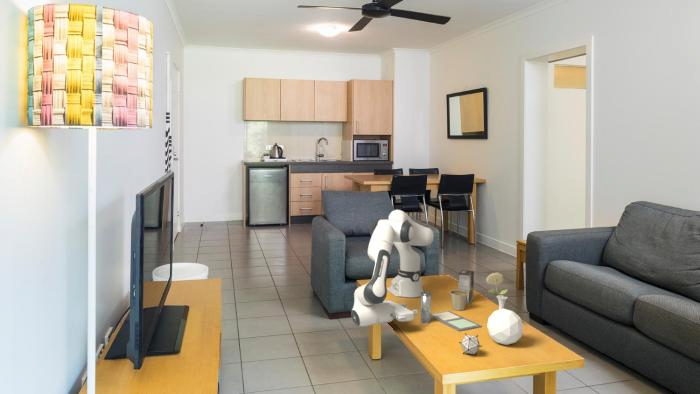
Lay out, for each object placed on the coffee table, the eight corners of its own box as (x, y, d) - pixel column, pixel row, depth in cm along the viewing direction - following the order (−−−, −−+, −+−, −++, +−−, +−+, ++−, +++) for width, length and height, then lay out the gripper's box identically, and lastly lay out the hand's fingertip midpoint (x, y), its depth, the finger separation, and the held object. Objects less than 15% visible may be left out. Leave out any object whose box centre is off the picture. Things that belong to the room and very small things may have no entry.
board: (427, 315, 251) (428, 314, 251) (449, 312, 257) (449, 310, 257) (459, 331, 230) (459, 329, 230) (481, 327, 236) (481, 325, 236)
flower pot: (468, 312, 257) (468, 295, 256) (449, 311, 258) (449, 294, 258) (467, 306, 266) (468, 290, 265) (449, 305, 268) (449, 289, 267)
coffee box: (461, 298, 281) (462, 269, 280) (473, 299, 278) (474, 270, 277) (457, 302, 273) (458, 272, 271) (469, 304, 270) (470, 274, 268)
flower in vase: (514, 323, 241) (516, 271, 239) (513, 331, 230) (515, 277, 228) (485, 320, 245) (487, 268, 243) (483, 327, 235) (485, 274, 232)
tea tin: (418, 321, 243) (418, 292, 242) (426, 319, 245) (427, 291, 244) (424, 324, 239) (424, 294, 237) (432, 322, 241) (433, 293, 240)
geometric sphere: (494, 354, 217) (474, 323, 221) (518, 336, 224) (498, 306, 227) (512, 349, 205) (490, 316, 208) (537, 330, 211) (515, 298, 215)
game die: (465, 361, 206) (454, 338, 210) (484, 354, 206) (473, 330, 210) (467, 359, 198) (456, 334, 202) (487, 351, 198) (475, 327, 202)
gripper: (398, 312, 222) (424, 308, 228) (374, 299, 240) (399, 295, 246) (397, 326, 223) (424, 321, 229) (374, 312, 241) (399, 308, 247)
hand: (411, 308), depth 238 cm, fingers open, 8 cm apart
